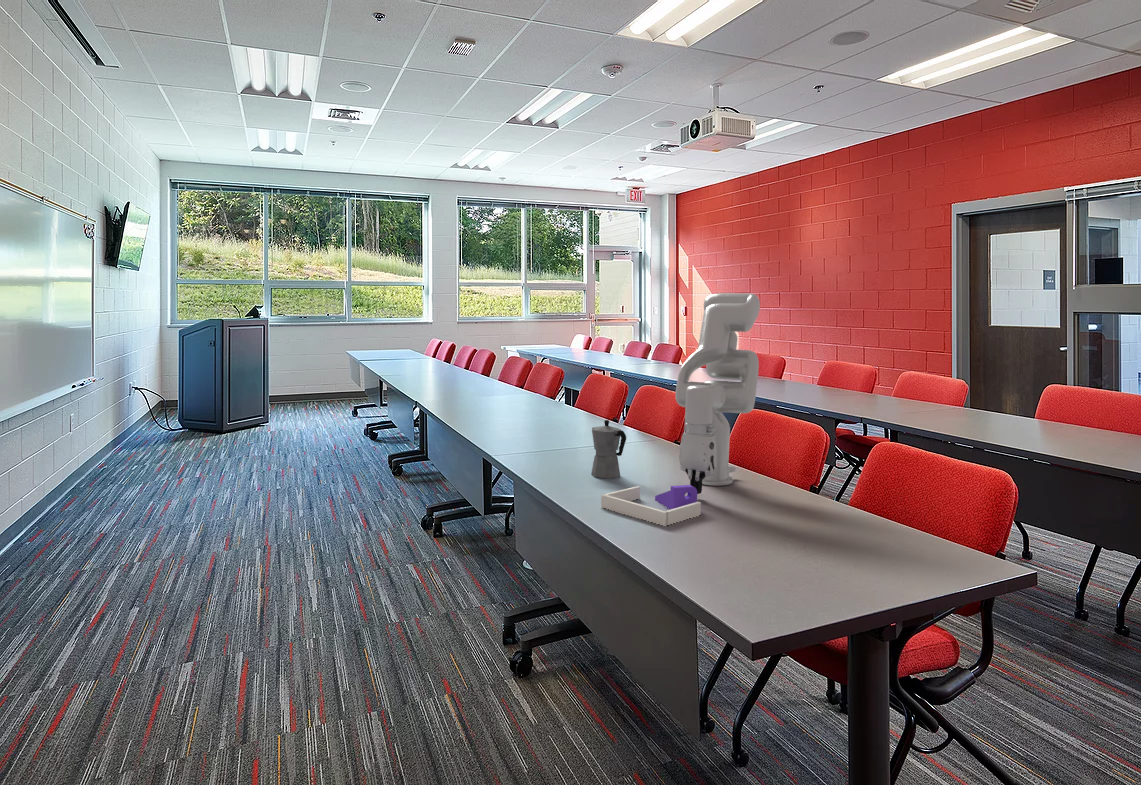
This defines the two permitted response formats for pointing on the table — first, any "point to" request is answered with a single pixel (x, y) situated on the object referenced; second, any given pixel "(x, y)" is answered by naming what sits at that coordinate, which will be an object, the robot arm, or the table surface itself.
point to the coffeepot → (607, 450)
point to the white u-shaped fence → (646, 507)
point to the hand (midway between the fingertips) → (695, 493)
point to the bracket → (678, 496)
